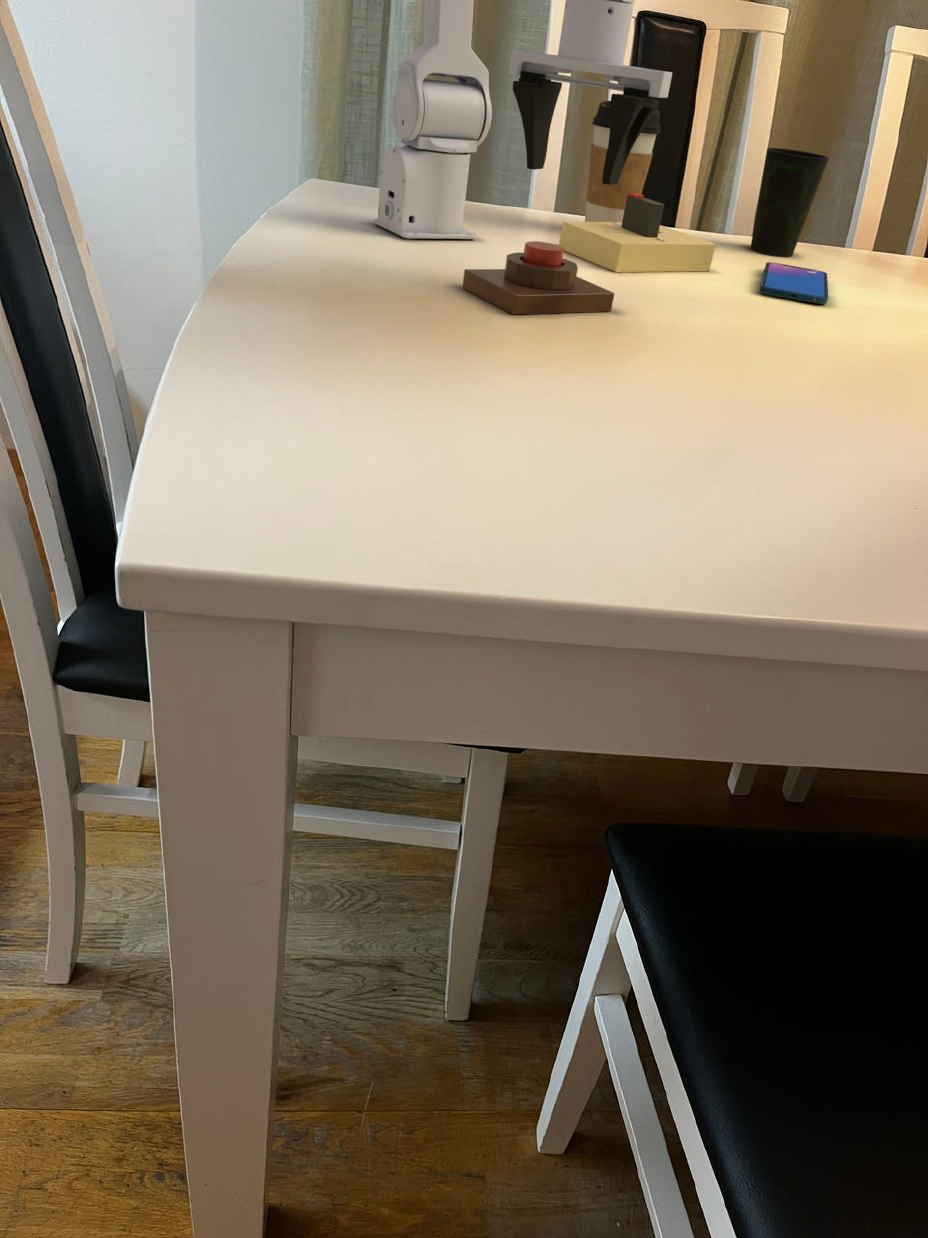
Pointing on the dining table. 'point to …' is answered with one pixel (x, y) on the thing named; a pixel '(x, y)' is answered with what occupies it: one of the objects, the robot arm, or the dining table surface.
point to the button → (543, 254)
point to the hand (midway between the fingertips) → (571, 175)
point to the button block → (537, 288)
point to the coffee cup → (611, 199)
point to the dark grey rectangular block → (642, 215)
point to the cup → (785, 199)
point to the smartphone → (795, 283)
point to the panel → (635, 248)
